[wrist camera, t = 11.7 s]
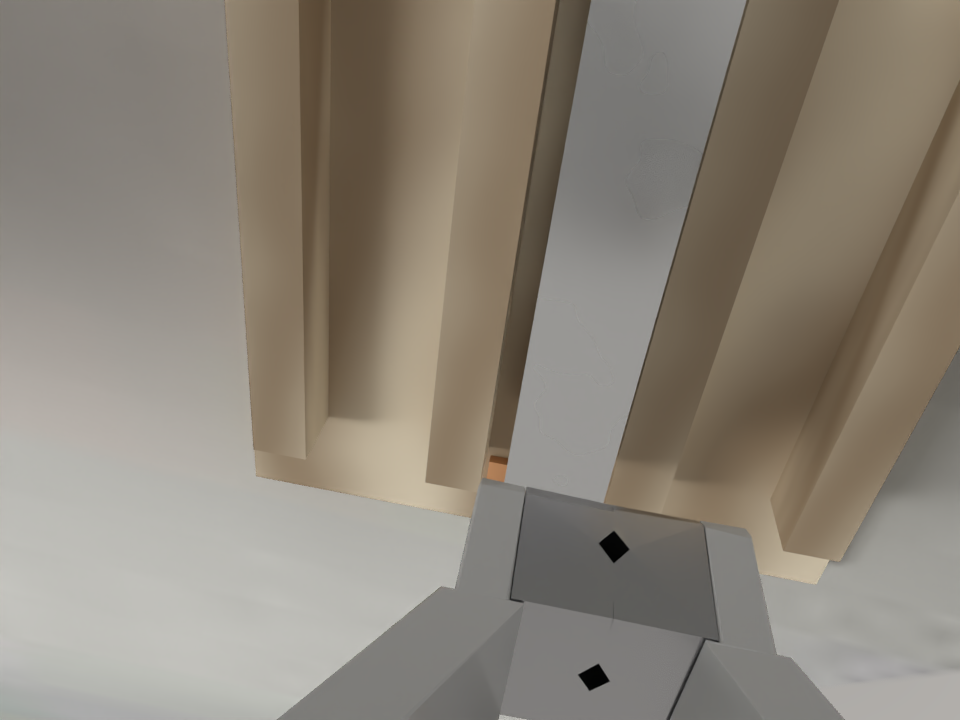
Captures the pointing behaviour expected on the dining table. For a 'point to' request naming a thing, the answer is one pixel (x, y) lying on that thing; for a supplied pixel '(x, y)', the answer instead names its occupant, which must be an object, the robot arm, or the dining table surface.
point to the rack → (523, 241)
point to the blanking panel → (615, 230)
